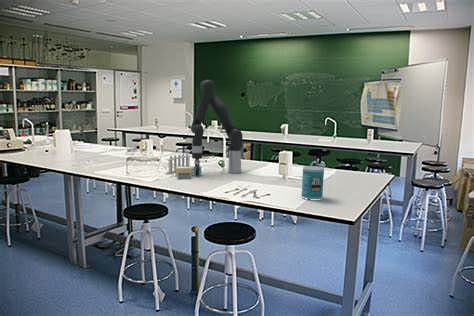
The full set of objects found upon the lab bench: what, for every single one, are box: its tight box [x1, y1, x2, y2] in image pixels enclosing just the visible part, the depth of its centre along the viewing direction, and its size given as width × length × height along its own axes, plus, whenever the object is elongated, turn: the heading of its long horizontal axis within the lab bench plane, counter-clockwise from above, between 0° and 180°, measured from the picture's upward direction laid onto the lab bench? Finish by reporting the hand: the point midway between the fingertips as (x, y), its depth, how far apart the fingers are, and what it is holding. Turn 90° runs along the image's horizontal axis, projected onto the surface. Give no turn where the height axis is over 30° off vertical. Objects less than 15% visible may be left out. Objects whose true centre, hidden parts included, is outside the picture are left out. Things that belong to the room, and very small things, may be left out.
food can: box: [301, 165, 325, 200], centre depth 216 cm, size 12×12×18 cm
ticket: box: [175, 166, 194, 177], centre depth 270 cm, size 12×5×6 cm, turn 99°
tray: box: [177, 173, 192, 180], centre depth 263 cm, size 9×9×2 cm
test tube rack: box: [165, 152, 192, 175], centre depth 283 cm, size 25×4×13 cm, turn 146°
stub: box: [192, 166, 202, 177], centre depth 271 cm, size 6×5×6 cm
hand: (197, 174), depth 271 cm, fingers closed on stub, 5 cm apart
